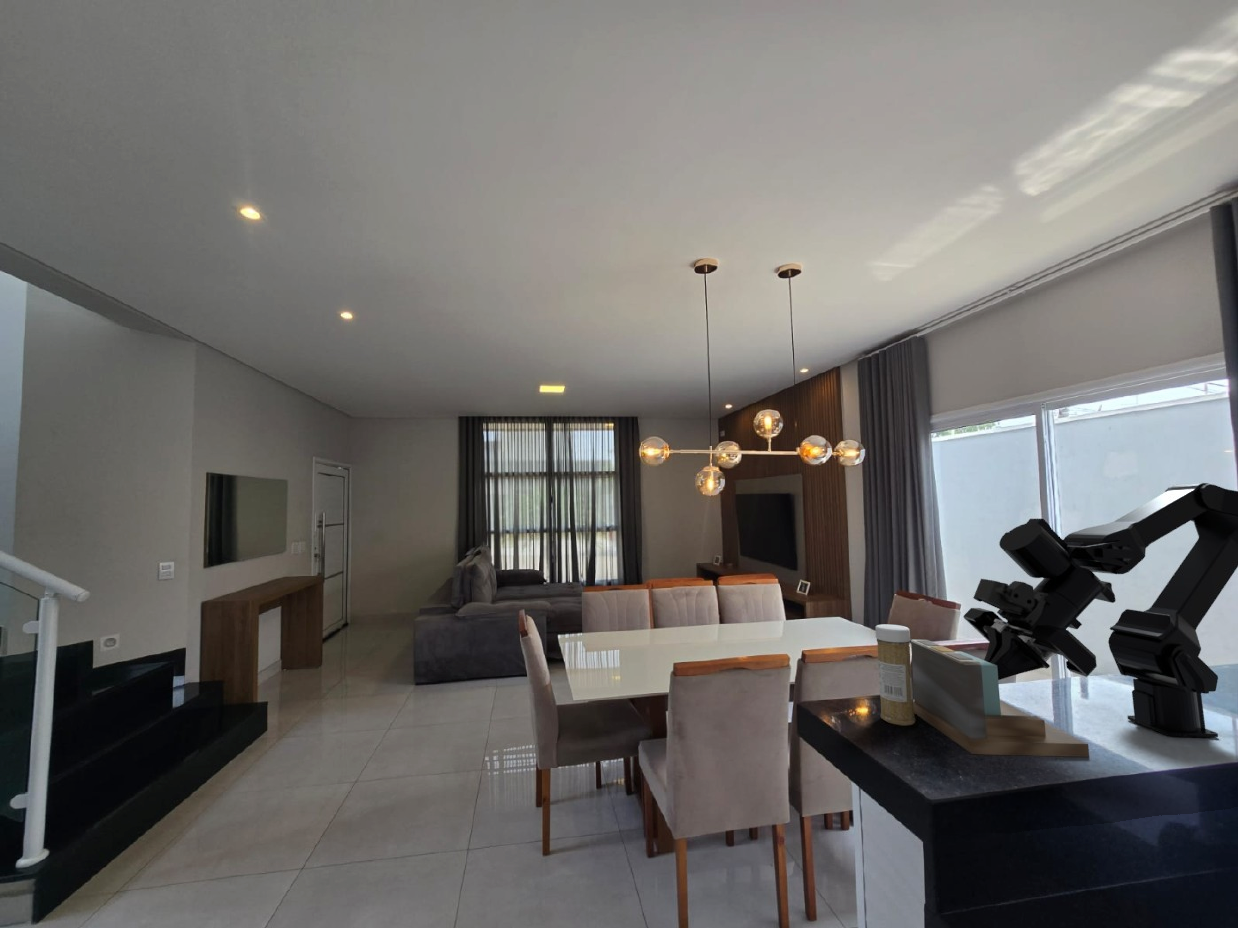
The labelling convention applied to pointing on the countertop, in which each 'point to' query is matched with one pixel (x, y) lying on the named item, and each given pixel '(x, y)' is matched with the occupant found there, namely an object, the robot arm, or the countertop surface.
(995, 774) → the countertop surface
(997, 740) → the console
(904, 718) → the sprinkles bottle
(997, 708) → the paddle button
